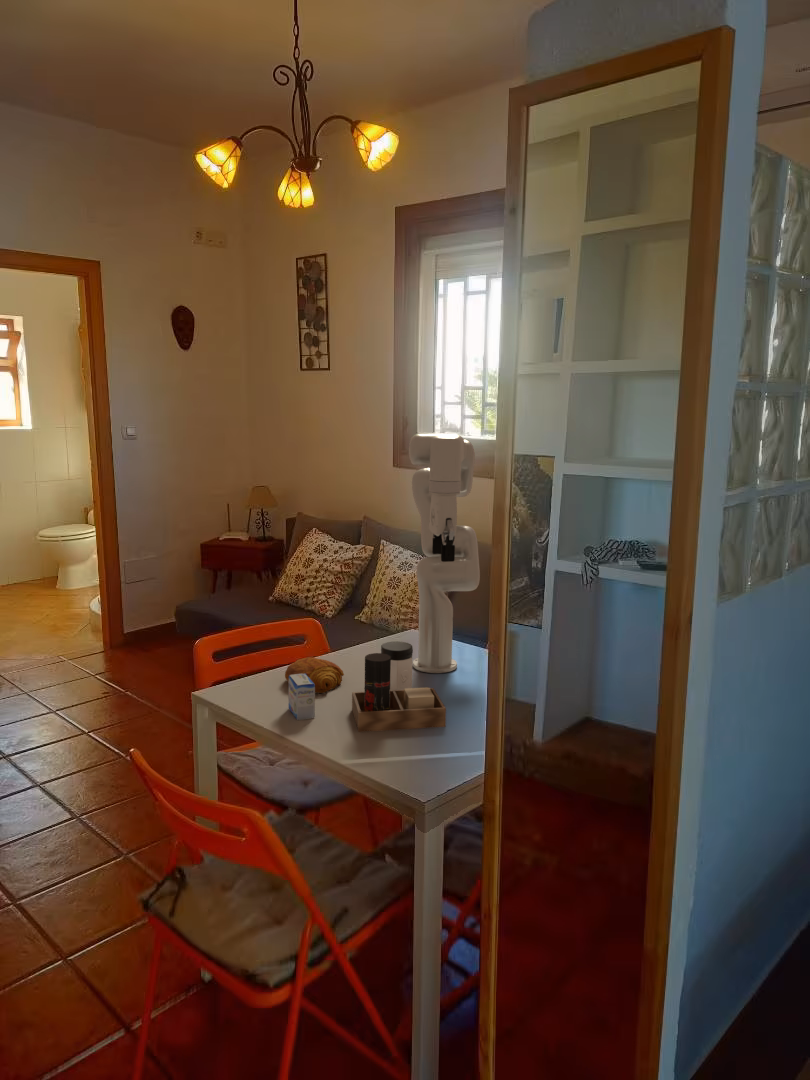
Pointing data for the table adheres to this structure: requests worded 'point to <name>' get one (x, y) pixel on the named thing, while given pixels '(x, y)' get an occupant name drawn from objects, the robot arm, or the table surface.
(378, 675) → the deodorant
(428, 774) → the table surface
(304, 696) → the medicine box
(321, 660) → the croissant
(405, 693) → the beech block
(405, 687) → the jar
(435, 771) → the table surface
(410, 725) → the box
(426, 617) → the robot arm
